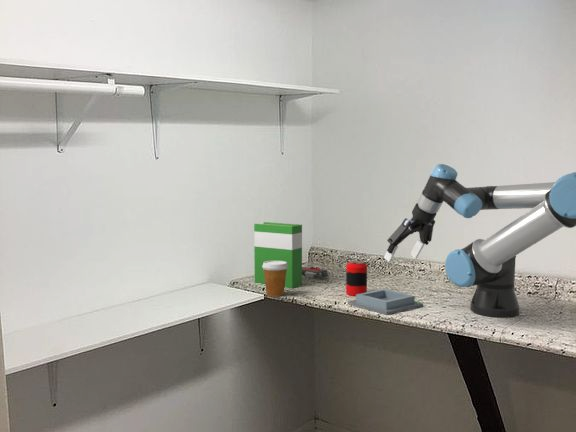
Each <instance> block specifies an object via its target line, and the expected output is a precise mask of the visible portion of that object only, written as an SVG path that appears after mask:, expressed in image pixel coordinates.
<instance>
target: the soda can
mask: <svg viewBox="0 0 576 432" xmlns="http://www.w3.org/2000/svg"><path fill="white" fill-rule="evenodd" d="M345 267H346V269H345V271H346V272H345V273H346V274H345V278H346V280H345V282H346V283H345V294H346V295H347V296H350V297H356V294H361V293H366V292H368V290H367V289H368V266H367V264H366V263H365V261H363V260H350V261H348V263H347V264H346V266H345Z"/></svg>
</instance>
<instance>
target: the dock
mask: <svg viewBox="0 0 576 432" xmlns="http://www.w3.org/2000/svg"><path fill="white" fill-rule="evenodd" d="M415 300H416V298H415V295H414V294H413V295H412V294H407V293H403V292H400V291H395V290H391V289H387V288H382V289H381V288H380V289H377V290H373V291H367V292H366V293H361V294H356V296H355V299H353V300H349V301H347V305H349V306H352V307H356V308H360V309H364V310H367V311H371V312H374V313H378V314H382V315H385V316H388V315H392V314H396V313H400V312H405V311H409V310H413V309H418V308H422V307H424V303H423V302H421V301H419V300H417V301H415Z"/></svg>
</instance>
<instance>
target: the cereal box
mask: <svg viewBox="0 0 576 432" xmlns="http://www.w3.org/2000/svg"><path fill="white" fill-rule="evenodd" d="M253 225H254V226H253V227H254V228H253V229H254V230H253V232H254V233H253V235H254V236H253V237H254V239H253V240H254V241H253V242H254V243H253V244H254V246H253V247H254V250H253V252H254V284H255V283H261V284H260V285H263V284H265V277H264V270H263V267H262V266H263V263H264V262H266V261H285V262H287V265H288V267H287V271H286V279H285V287H286V289H295V288H297V287H301V286H302V285H303V275H302V267H303V224H298V223H297V224H296V223H282V222H281V223H280V222H270V221H269V222H266V221H264V222H263V224H262V223H254V224H253Z"/></svg>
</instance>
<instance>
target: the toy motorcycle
mask: <svg viewBox="0 0 576 432" xmlns="http://www.w3.org/2000/svg"><path fill="white" fill-rule="evenodd" d="M302 276H305V277H306V278H309V279H320V280H329V277H328V270H327V269H324V268H323V267H322V266H320V265H307V266H302Z"/></svg>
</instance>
